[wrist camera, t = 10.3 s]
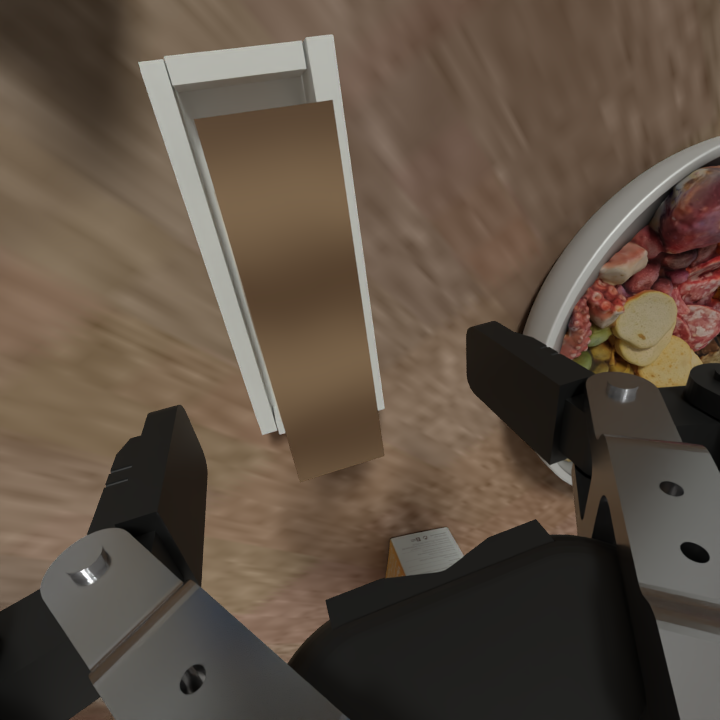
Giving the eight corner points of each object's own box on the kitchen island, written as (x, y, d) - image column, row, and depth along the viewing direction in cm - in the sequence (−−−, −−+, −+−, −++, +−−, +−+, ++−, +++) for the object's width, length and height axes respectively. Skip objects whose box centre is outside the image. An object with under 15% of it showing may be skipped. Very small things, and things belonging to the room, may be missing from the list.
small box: (388, 536, 38) (453, 693, 27) (448, 524, 40) (532, 667, 29) (380, 591, 42) (436, 750, 30) (436, 578, 43) (507, 724, 32)
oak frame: (338, 361, 27) (387, 454, 18) (275, 377, 26) (296, 483, 18) (292, 124, 20) (337, 99, 12) (207, 137, 20) (188, 120, 11)
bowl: (770, 360, 44) (869, 397, 37) (537, 504, 43) (594, 569, 36) (807, 48, 28) (990, 12, 21) (446, 267, 28) (515, 302, 21)
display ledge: (257, 414, 28) (260, 445, 25) (144, 73, 19) (127, 57, 16) (369, 383, 30) (384, 408, 27) (317, 53, 20) (333, 34, 17)
